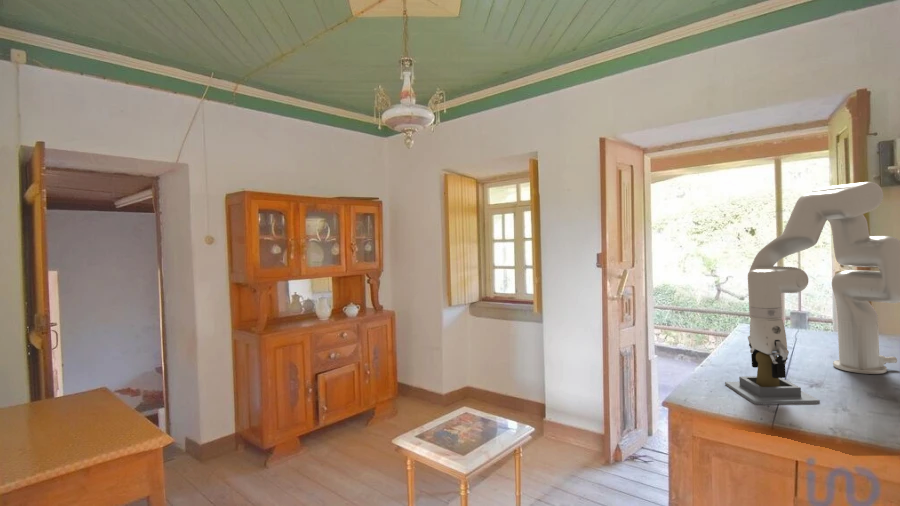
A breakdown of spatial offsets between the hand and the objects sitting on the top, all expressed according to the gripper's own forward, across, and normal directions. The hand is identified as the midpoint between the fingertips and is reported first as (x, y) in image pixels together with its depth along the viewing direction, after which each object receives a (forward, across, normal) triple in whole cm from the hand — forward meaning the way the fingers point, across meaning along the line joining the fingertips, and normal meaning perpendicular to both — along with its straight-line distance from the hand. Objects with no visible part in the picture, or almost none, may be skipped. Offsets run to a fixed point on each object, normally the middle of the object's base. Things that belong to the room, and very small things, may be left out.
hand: (768, 372), depth 124 cm
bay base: (+6, 0, 0) cm, 6 cm away
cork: (+6, 0, 0) cm, 6 cm away
